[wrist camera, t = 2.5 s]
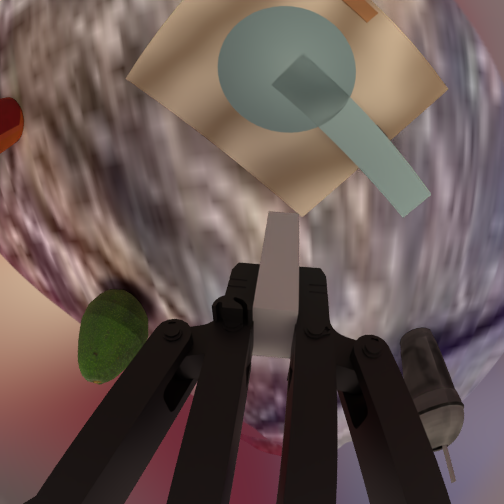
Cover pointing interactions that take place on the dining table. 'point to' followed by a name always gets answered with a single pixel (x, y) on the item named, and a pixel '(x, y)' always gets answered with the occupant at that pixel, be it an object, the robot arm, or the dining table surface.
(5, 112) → the paper cup
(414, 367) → the beverage cup
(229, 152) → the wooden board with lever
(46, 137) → the dining table surface
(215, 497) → the robot arm
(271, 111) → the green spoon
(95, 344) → the avocado
